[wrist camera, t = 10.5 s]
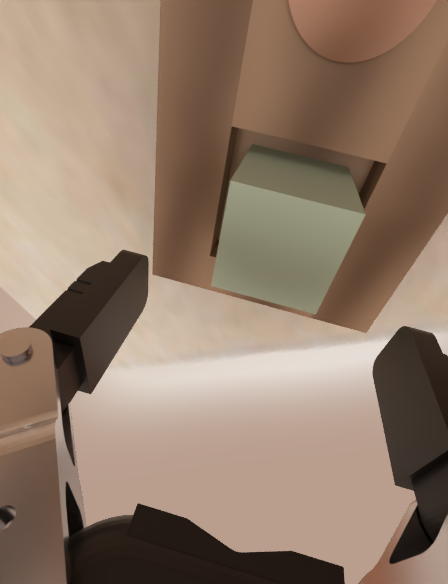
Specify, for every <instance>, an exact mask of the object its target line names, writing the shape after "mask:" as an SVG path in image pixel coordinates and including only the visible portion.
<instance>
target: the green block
mask: <svg viewBox="0 0 448 584" xmlns="http://www.w3.org/2000/svg"><path fill="white" fill-rule="evenodd" d="M365 215H366V214H365V211H364V208H363V206H362V203H361V200H360V197H359V195H358V192H357V189H356V186H355V184H354V181H353V178H352V175H351V173H350V170H349V167H347V166H342V165H338V164H334V163H330V162H326V161H322V160H318V159H313V158H309V157H305V156H301V155H297V154H293V153H289V152H284V151H280V150H276V149H272V148H268V147H264V146H260V145H256V144H252V146H251V148H250V149H249V151H248V153H247V154H246V156H245V157H244V159H243V161H242V162H241V164H240V166H239V167H238V169H237V170H236V172H235V174H234V175H233V177H232V179H231V180H230V185H229V190H228V196H227V201H226V207H225V212H224V218H223V223H222V228H221V234H220V239H219V245H218V250H217V256H216V261H215V267H214V272H213V277H212V283H211V286H213V287H217V288H220V289H224V290H228V291H231V292H235V293H239V294H242V295H246V296H250V297H253V298H257V299H261V300H264V301H268V302H272V303H275V304H279V305H283V306H286V307H290V308H294V309H297V310H301V311H305V312H308V313H312V314H316V313H317V311H318V309H319V307H320V305H321V303H322V301H323V299H324V297H325V295H326V293H327V291H328V289H329V287H330V285H331V283H332V281H333V279H334V277H335V275H336V273H337V271H338V269H339V267H340V265H341V263H342V261H343V259H344V257H345V255H346V253H347V251H348V249H349V247H350V245H351V243H352V241H353V239H354V237H355V235H356V233H357V231H358V229H359V227H360V225H361V223H362V221H363V219H364V217H365Z"/></svg>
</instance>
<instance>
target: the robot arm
mask: <svg viewBox="0 0 448 584" xmlns="http://www.w3.org/2000/svg"><path fill="white" fill-rule="evenodd" d="M147 296H148V257H147V256H145V255H141V254H138V253H134V252H130V251H126V250H122V251H121V252H120V253H119V254H118V255H117V256H116V257H115V258H114V259H113V260H112V261H111V262H110V263H109V262H105V261H102V262H100V263H98V264H95V265H93V266H91V267H89V268H87V269H86V270H85V271H84V272H83V273H82V274H81V275H80V276H79V277H78V278H77V281H76V282H75V281H74V282H73V283H72V284H71V285H70V287H69V288H68V290H67V291H65V292H64V293H63V294H62V295H61V296H60V297H59V298H58V299H57V300H56V301H55V302H54V303H53V304H52V305H51V306H50V307H49V308H48V309H47V310H46V311H45V312H44V313H43V314H42V315H41V316H40V317H39V318H38V319H37V320H36V321H35V322H34V323H33V324H32V325H31V326H30V327H27V328H16V329H12V330H9V331H6V332H3V333H1V334H0V584H345V583H344V568H343V567H342V566H338V565H335V564H332V563H329V562H325V561H322V560H319V559H316V558H313V557H309V556H306V555H303V554H300V553H296V552H293V551H278V552H249V553H248V552H247V553H241V552H236V551H233V550H232V549H230V548H228V547H227V546H226V545H224V544H223V543H221V542H220V541H218V540H217V539H216V538H214V537H213V536H211V535H210V534H209V533H207V532H206V531H204V530H203V529H201V528H200V527H198V526H197V525H195V524H194V523H193V522H191V521H190V520H188V519H187V518H184V517H180V516H177V515H173V514H171V513H167V512H164V511H161V510H158V509H154V508H151V507H148V506H145V505H141V504H137V507H136V510H135V513H134V515H123V516H117V517H112V518H108V519H105V520H102V521H99V522H96V523H94V524H92V525H90V526H88V527H86V520H85V512H84V504H83V496H82V491H81V486H80V480H79V475H78V469H77V461H76V452H75V444H74V435H73V426H72V418H71V408H70V401H71V400H72V398H73V397H74V395H75V394H76V392H77V391H82V392H85V393H89V394H91V393H92V392H93V390H94V388H95V387H96V385H97V384H98V382H99V380H100V379H101V377H102V376H103V374H104V372H105V371H106V369H107V368H108V366H109V364H110V363H111V361H112V359H113V358H114V356H115V355H116V353H117V351H118V350H119V348H120V347H121V345H122V343H123V342H124V340H125V339H126V337H127V335H128V334H129V332H130V330H131V329H132V327H133V326H134V324H135V322H136V321H137V319H138V318H139V316H140V314H141V313H142V311H143V309H144V307H145V304H146V301H147ZM373 379H374V384H375V388H376V393H377V398H378V403H379V407H380V413H381V418H382V422H383V428H384V433H385V437H386V442H387V447H388V452H389V457H390V462H391V467H392V472H393V476H394V482H395V485H396V486H400V487H403V488H407V489H410V490H413V491H414V492H415V496H416V500H415V501H413V502H412V503H411V504H410V505H409V507H408V509H407V511H406V512H405V514H404V516H403V518H402V520H401V521H400V523H399V525H398V527H397V529H396V531H395V533H394V534H393V536H392V538H391V540H390V542H389V543H388V545H387V547H386V549H385V551H384V553H383V555H382V557H381V558H380V560H379V562H378V563H377V564H376V566H375V567H374V568H373V569H372V570H371V571H370V572H368V573H367V574H366V575H365V576H364V577H363V578H362V579H361V581H360V582H359V583H358V584H448V356H447V355H445V354H443V353H442V351H441V348H440V346H439V344H438V342H437V339H436V337H435V336H434V335H433V334H432V333H430V332H426V331H422V330H418V329H415V328H411V327H407V326H403V327H401V328H400V329H399V330H398V331H397V332H396V333H395V335H394V336H393V337H392V338H391V340H390V341H389V342H388V344H387V345H386V346H385V348H384V349H383V350H382V351H381V353H380V354H379V355H378V356H377V358H376V360H375V362H374V366H373Z"/></svg>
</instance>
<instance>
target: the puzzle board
mask: <svg viewBox="0 0 448 584" xmlns="http://www.w3.org/2000/svg"><path fill="white" fill-rule="evenodd" d="M252 144H256V145H260V146H264V147H268V148H272V149H276V150H280V151H284V152H289V153H293V154H297V155H301V156H305V157H309V158H313V159H318V160H322V161H326V162H330V163H334V164H338V165H342V166H347V167H349V170H350V173H351V175H352V178H353V181H354V184H355V186H356V189H357V192H358V195H359V197H360V200H361V203H362V206H363V208H364V211H365V214H366V215H365V217H364V219H363V221H362V223H361V225H360V227H359V229H358V231H357V233H356V235H355V237H354V239H353V241H352V243H351V245H350V247H349V249H348V251H347V253H346V255H345V257H344V259H343V261H342V263H341V265H340V267H339V269H338V271H337V273H336V275H335V277H334V279H333V281H332V283H331V285H330V287H329V289H328V291H327V293H326V295H325V297H324V299H323V301H322V303H321V305H320V307H319V309H318V311H317V313H316V314H312V313H308V312H305V311H301V310H297V309H294V308H290V307H286V306H283V305H279V304H275V303H272V302H268V301H264V300H261V299H257V298H253V297H250V296H246V295H242V294H239V293H235V292H231V291H228V290H224V289H220V288H217V287H213V286H211V283H212V277H213V272H214V267H215V261H216V256H217V250H218V245H219V239H220V234H221V228H222V223H223V218H224V212H225V207H226V201H227V196H228V190H229V185H230V180H231V179H232V177H233V175H234V174H235V172H236V170H237V169H238V167H239V166H240V164H241V162H242V161H243V159H244V157H245V156H246V154H247V153H248V151H249V149H250V148H251V146H252ZM447 213H448V0H161V9H160V42H159V75H158V109H157V142H156V176H155V209H154V242H153V275H157V276H161V277H164V278H168V279H172V280H175V281H179V282H183V283H186V284H190V285H194V286H197V287H201V288H204V289H208V290H212V291H215V292H219V293H223V294H226V295H230V296H234V297H237V298H241V299H245V300H248V301H252V302H256V303H259V304H263V305H266V306H270V307H274V308H277V309H281V310H285V311H288V312H292V313H296V314H299V315H303V316H307V317H310V318H314V319H318V320H321V321H325V322H328V323H332V324H336V325H339V326H343V327H347V328H350V329H354V330H358V331H361V332H365V333H366V332H367V331H368V329H369V328H370V326H371V325H372V323H373V322H374V320H375V319H376V318H377V316H378V315H379V313H380V312H381V310H382V309H383V307H384V306H385V304H386V303H387V301H388V300H389V298H390V297H391V295H392V294H393V293H394V291H395V290H396V288H397V287H398V285H399V284H400V282H401V281H402V279H403V278H404V276H405V275H406V273H407V272H408V271H409V269H410V268H411V266H412V265H413V263H414V262H415V260H416V259H417V257H418V256H419V254H420V253H421V251H422V250H423V249H424V247H425V246H426V244H427V243H428V241H429V240H430V238H431V237H432V235H433V234H434V232H435V231H436V229H437V228H438V226H439V225H440V224H441V222H442V221H443V219H444V218H445V216H446V215H447Z"/></svg>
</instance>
